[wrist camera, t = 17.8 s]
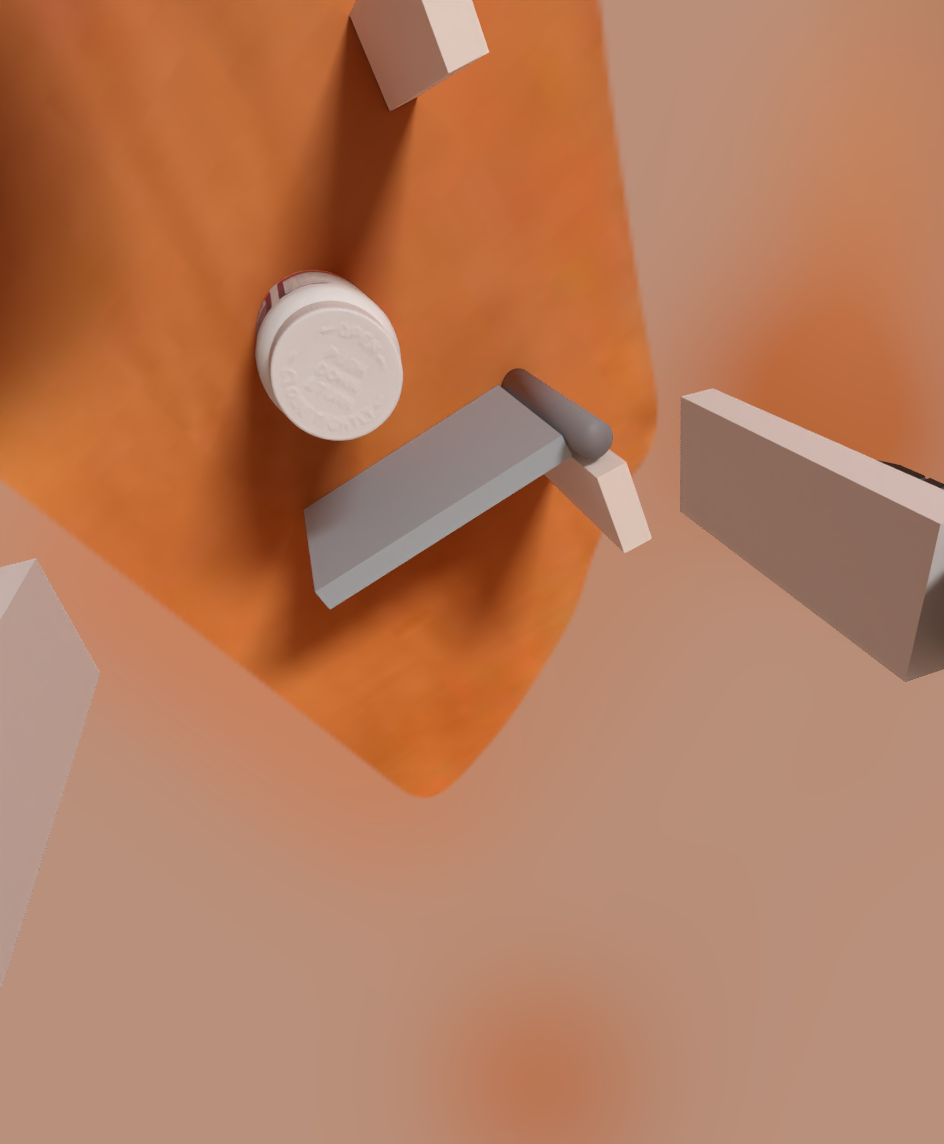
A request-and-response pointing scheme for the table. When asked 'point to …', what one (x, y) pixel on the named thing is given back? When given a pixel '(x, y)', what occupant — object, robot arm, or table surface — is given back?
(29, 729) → the robot arm
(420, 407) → the table surface
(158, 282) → the table surface
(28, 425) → the table surface
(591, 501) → the wall frame
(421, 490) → the door
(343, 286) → the pill bottle
